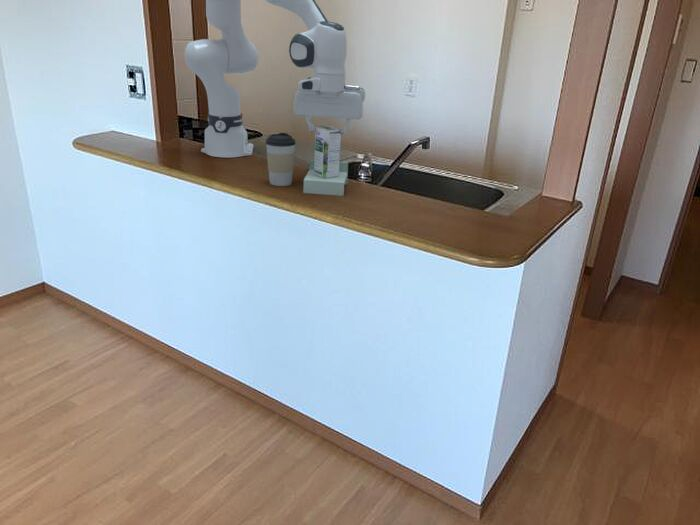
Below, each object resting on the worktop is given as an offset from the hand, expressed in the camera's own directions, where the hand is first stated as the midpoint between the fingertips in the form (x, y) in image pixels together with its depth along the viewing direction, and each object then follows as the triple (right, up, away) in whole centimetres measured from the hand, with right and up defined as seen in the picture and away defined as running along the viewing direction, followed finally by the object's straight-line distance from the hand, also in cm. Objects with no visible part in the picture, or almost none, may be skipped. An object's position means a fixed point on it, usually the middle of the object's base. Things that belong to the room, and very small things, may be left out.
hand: (327, 132), depth 164 cm
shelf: (-1, -16, +7) cm, 17 cm away
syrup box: (-1, -12, +6) cm, 13 cm away
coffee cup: (-15, -14, +10) cm, 23 cm away
